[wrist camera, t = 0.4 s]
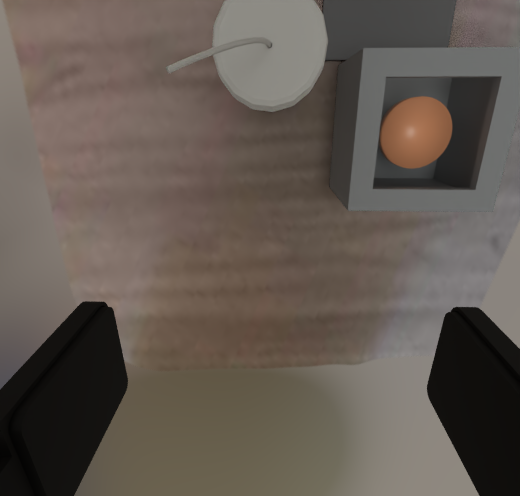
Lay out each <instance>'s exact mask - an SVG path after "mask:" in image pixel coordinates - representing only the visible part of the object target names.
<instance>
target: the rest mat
mask: <svg viewBox="0 0 520 496" xmlns="http://www.w3.org/2000/svg"><path fill="white" fill-rule="evenodd" d="M455 5H456V0H323V12H322V13H323V15H324V21H325V26H326V32H327V37H328V45H327V51H326V57H325V61H330V60H347V59H349V58H350V57H351V56H353V55H354V54H356V53H357V52H359V51H360V50H361V49H363V48H448V45H449V39H450V34H451V28H452V22H453V17H454V11H455Z"/></svg>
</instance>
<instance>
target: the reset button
mask: <svg viewBox="0 0 520 496" xmlns="http://www.w3.org/2000/svg"><path fill="white" fill-rule="evenodd" d="M451 135H452V119H451V115H450V113H449V111H448V109H447V108H446V107H445V106H444V104H442V103H441V102H440V101H438V100H437V99H434V98H431V97H425V96H420V97H411V98H407V99H404V100H401V101H399V102H398V103H396V104H395V105H393V106H392V107H391V108H390V109H389V110H388V111H387V112H386V114H385V115H384V116H383V118H382V120H381V124H380V132H379V140H378V146H379V149H380V151H381V153H382V154H383V156H384V157H385V158H386V159H387V160H388V161H390V162H391V163H393V164H395V165H398V166H400V167H403V168H410V169H413V168H420V167H423V166H426V165H428V164H430V163H432V162H433V161H435V160H436V159H437V158H438V157H439V156H440V155H441V154H442V153H443V152H444V150H445V149H446V147H447V145H448V144H449V141H450V138H451Z"/></svg>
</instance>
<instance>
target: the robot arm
mask: <svg viewBox="0 0 520 496" xmlns="http://www.w3.org/2000/svg"><path fill="white" fill-rule="evenodd" d="M127 384H128V378H127V373H126V369H125V363H124V358H123V354H122V349H121V344H120V339H119V334H118V330H117V325H116V320H115V315H114V311H113V309H112V308H111V307H108V306H107V304H106V303H105V302H82V303H81V304H80V305H79V306H78V307H77V308H76V309H75V310H74V311H73V312H72V313H71V314H70V315H69V316H68V318H67V319H66V320H65V321H64V322H63V323H62V324H61V325H60V326H59V327H58V328H57V329H56V330H55V332H54V333H53V334H52V335H51V336H50V337H49V338H48V339H47V340H46V341H45V342H44V343H43V344H42V345H41V347H40V348H39V349H38V350H37V351H36V352H35V353H34V354H33V355H32V356H31V357H30V358H29V359H28V360H27V361H26V363H25V364H24V365H23V366H22V367H21V368H20V369H19V370H18V371H17V372H16V373H15V374H14V375H13V376H12V378H11V379H10V380H9V381H8V382H7V383H6V384H5V385H4V386H3V387H2V388H1V390H0V496H74V494H75V492H76V491H77V489H78V486H79V485H80V483H81V480H82V478H83V476H84V474H85V473H86V471H87V468H88V466H89V464H90V462H91V461H92V458H93V456H94V454H95V452H96V450H97V448H98V446H99V444H100V442H101V440H102V438H103V436H104V434H105V432H106V430H107V428H108V426H109V424H110V422H111V420H112V418H113V416H114V414H115V412H116V410H117V408H118V406H119V404H120V402H121V400H122V398H123V396H124V394H125V392H126V389H127ZM427 392H428V397H429V399H430V401H431V403H432V405H433V407H434V409H435V411H436V413H437V415H438V417H439V419H440V421H441V423H442V425H443V426H444V428H445V430H446V432H447V434H448V436H449V438H450V440H451V442H452V444H453V445H454V447H455V449H456V451H457V453H458V455H459V457H460V459H461V461H462V463H463V465H464V467H465V469H466V471H467V472H468V475H469V476H470V478H471V480H472V482H473V484H474V486H475V488H476V490H477V492H478V493H479V495H480V496H520V349H519V348H518V347H517V346H516V345H515V344H514V343H513V342H512V341H511V340H510V339H509V338H508V337H507V336H506V335H505V334H504V333H503V332H502V331H501V330H500V329H499V328H498V327H497V326H496V325H495V323H494V322H492V320H491V319H490V318H489V317H488V316H487V315H486V314H485V313H484V312H483V311H482V310H480V309H479V308H476V307H455V308H453V309H452V310H451V312H448V313H446V315H445V317H444V321H443V325H442V329H441V333H440V337H439V341H438V345H437V349H436V353H435V357H434V361H433V365H432V369H431V373H430V376H429V381H428V385H427Z"/></svg>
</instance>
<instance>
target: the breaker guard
mask: <svg viewBox="0 0 520 496" xmlns="http://www.w3.org/2000/svg"><path fill="white" fill-rule="evenodd" d="M420 96H425V97H431V98H434V99H437V100H438V101H440V102H441V103H442V104H444V106H445V107H446V108H447V109H448V111H449V113H450V115H451V119H452V135H451V138H450V141H449V144H448V145H447V147H446V149H445V150H444V152H443V153H442V154H441V155H440V156H439V157H438V158H437V159H436V160H435V161H433V162H432V163H430V164H428V165H426V166H423V167H420V168H413V169H410V168H403V167H400V166H398V165H395V164H393V163H391V162H390V161H388V160H387V159H386V158H385V157H384V156H383V154H382V153H381V151H380V149H379V146H378V140H379V132H380V124H381V120H382V118H383V116H384V115H385V114H386V112H387V111H388V110H389V109H390V108H391V107H392V106H393V105H395V104H396V103H398V102H399V101H401V100H404V99H407V98H411V97H420ZM519 109H520V47H449V48H363V49H361V50H360V51H359V52H357V53H356V54H354V55H353V56H351V57H350V58H349V59H347V60H346V61H344V62H343V63H341V64H340V65H339V66H338V75H337V88H336V102H335V115H334V129H333V142H332V156H331V169H330V183H329V187H330V188H331V189H332V191H333V192H334V193H335V195H336V196H337V197H338V199H339V200H340V201H341V203H342V204H343V205H344V206H345V208H346V209H347V210H348V211H433V212H493V210H494V206H495V202H496V198H497V194H498V190H499V186H500V183H501V179H502V175H503V171H504V167H505V163H506V159H507V155H508V152H509V148H510V144H511V140H512V136H513V132H514V128H515V124H516V121H517V117H518V113H519Z"/></svg>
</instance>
